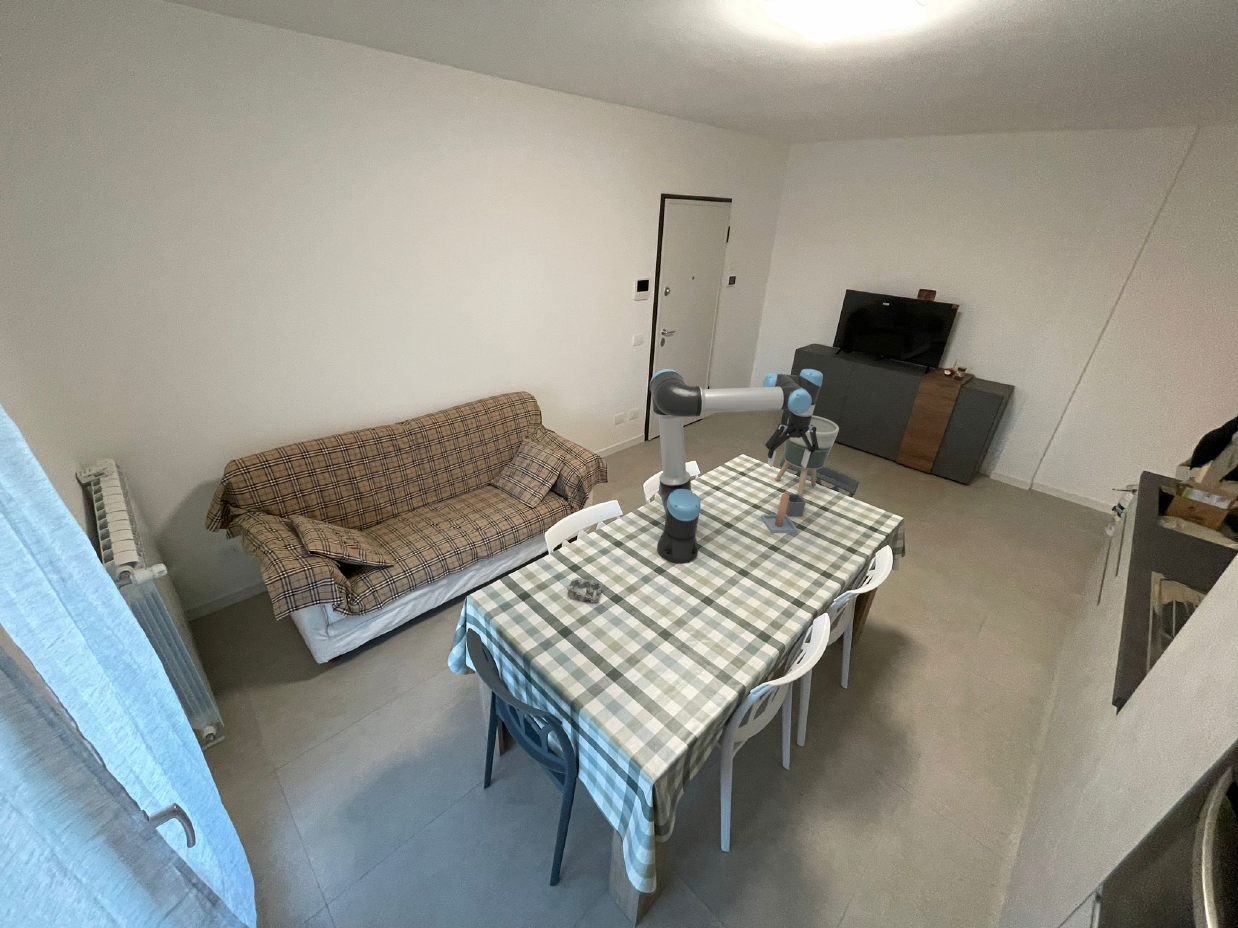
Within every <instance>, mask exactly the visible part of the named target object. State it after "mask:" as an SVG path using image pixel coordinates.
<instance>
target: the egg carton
mask: <svg viewBox="0 0 1238 928" xmlns="http://www.w3.org/2000/svg"><path fill="white" fill-rule="evenodd" d="M576 586H578V588H579V589H581V590H574V588H575V587H576ZM585 588H586V589H585ZM583 589H585V595H584V593H583V591H582V590H583ZM602 589H603V582H600V581H593V580H592V579H591V580H590V579H589V580H588V579H583V578H582V577H575V578H572V580H571V581H570V583H569V586H568V587H567V589H566V590H567V597H569V598H570V599H571V600H575V599H579V600H580V601H581V602H585V601H589V602H590V603H591V604H595V603H597V602H599V600H600V595H601V594H602ZM595 590H596V591H595ZM594 591H595V596H594Z"/></svg>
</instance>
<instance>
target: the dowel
mask: <svg viewBox="0 0 1238 928" xmlns="http://www.w3.org/2000/svg"><path fill="white" fill-rule="evenodd" d="M788 494H789V493H781V496H780V501H779V505H778V509H777V514H776V515H777V517H776V521H775V525H776V526H777V527H782V525H783V521H784V517H785V513H786V509H787V504H788V500H789V495H788Z"/></svg>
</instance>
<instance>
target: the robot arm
mask: <svg viewBox="0 0 1238 928" xmlns="http://www.w3.org/2000/svg"><path fill="white" fill-rule="evenodd" d="M823 379H824V375H823V373H822V372H821V371H819V370H816V369H812V368H804V369H802V370H801V371H800V373H799V374H795V375H794V374H783V373H782V374H781V373H777V372H776V373H767V374H766V375H765V376H764V379H763V381H762V386H760V387H759V386H758V387H757V386H756V387H735V388H734V387H732V388H731V387H730V388H727V387H726V388H709V389H708V388H704V389H703V388H702V387H701V386H699V385H698V386H697V385H696V386H694V385H688V384H686V382H685V381H684V378H683V376H682V375H681V374H680V373H679V372H678V371H676V370H674V369H670V368H669V369H668V368H665V369H661V370H659V371H657V372H655V374H654V375H653V376H652V377H651V380H650V382H649V391H650V393H651V397H652V398H651V400H652V410H653V413H654V415H656V416H657V417H658V419H657V420H658V430H659V441H660V442H659V443H660V453H661V455H660V456H661V467H662V473H661V474H660V475H659V486H658V492H659V497H660V498H661V499H660V500H661V501H662V506H663V509H664V512H665V513H664V514H665V519H664V526H663V527H664V529H663V531H662V534H661V536H660V537H659V539H658V541H657V547H656V551H657V553H658V555H659V556H660V557H661V558H663V559H664V560H666V561H668V562H670V563H674V564H687V563H690V562H691V563H692V562H693V561H695V560H696V558H697V557H698V554H699V545H698V540H697V536H696V535H697V530H698V525H699V524H698V523H699V518H700V513H701V507H702V506H701V499H700V497H699V496H698V495H697V494H696V493H695V492H693V491H692V482H691V481H692V480H691V474H690V472H688V471H687V469H686V467H687V466H686V464H687V463H686V450H685V449H686V448H685V447H686V446H685V436H684V434H685V433H684V432H685V431H684V430H685V429H684V417H685V418H688V417H689V418H693V417H701V416H702V415H703V414H709V413H711V414H712V413H716V414H717V413H732V412H733V413H736V412H737V413H738V412H760V411H761V412H764V411H790V412H789V416H788V418H789V419H788V418H787V422H788V424H787V423H786V425H785V424H782V423H779V424H778V426H777V429H776V430H775V431H774V432H773V434H772V435H771V436H770V438H769V439H768V440H767V441H766V443H765V444H764V446H765V447H766V448H767V450H768V453H767V457H768V460H767V465H768V466H769V467H770V468H773V466H774V462H775V458H776V454H777V451H776V450H777V449H778V448H779V447H780V446H781V445H783V444H785V441H786V440H787V439H790V438H791V437H792V438H796V437H797V438H800V437H802V439H803V441H804V442H805V444H806V446H807V448H808V449H805V452H804V455H803V459H802V462H801V465H802V466H803V467H804V468H806V466H807V463H808V459H810V458H811V455H812V453H814V452H815V450H818V449H819V447H818V442H817V437H816V429H817V428H816V427H815V426H814V425H811V426H809V425H810V422H811V418H812V416H811V415H813V414H814V410H815V407H816V403H817V401H818V398H819V397H818V396H819V395H820V394H819V393H820V390H821V388H822V384H823ZM808 430H809V431H810V436H811V441H812V445H811V444H810V442H809V440H808V438H807V436H806V434H805V433H806V432H807V431H808ZM787 434H788V435H787Z"/></svg>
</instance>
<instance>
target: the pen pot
mask: <svg viewBox="0 0 1238 928" xmlns="http://www.w3.org/2000/svg"><path fill="white" fill-rule="evenodd" d="M787 494H788V495H789V500H788V504H787V509H786V513H785V515H787V516H788V517H789V518H790V517H793V518H794V517H796V518H797V517H799V518H800V517H803V514H804V511H805V507H806V501H805V499H803V497H802V498H801V496H800V495H799V494H798V493H787Z"/></svg>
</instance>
